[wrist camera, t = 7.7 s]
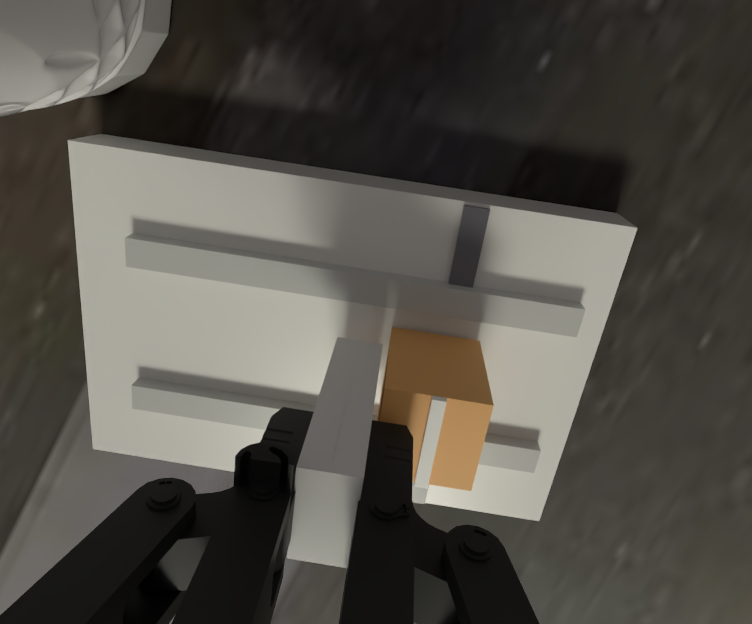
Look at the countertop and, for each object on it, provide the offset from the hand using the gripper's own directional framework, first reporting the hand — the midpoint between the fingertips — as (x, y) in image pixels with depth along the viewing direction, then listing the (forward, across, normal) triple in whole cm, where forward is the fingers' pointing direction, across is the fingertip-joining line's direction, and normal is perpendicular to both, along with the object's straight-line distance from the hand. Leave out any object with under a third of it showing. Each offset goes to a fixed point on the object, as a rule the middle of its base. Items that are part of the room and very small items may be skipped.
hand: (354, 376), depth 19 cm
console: (+3, -1, 0) cm, 4 cm away
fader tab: (+1, +2, 0) cm, 3 cm away
